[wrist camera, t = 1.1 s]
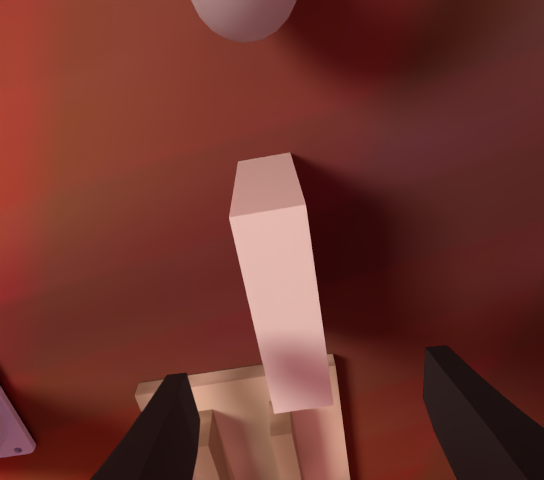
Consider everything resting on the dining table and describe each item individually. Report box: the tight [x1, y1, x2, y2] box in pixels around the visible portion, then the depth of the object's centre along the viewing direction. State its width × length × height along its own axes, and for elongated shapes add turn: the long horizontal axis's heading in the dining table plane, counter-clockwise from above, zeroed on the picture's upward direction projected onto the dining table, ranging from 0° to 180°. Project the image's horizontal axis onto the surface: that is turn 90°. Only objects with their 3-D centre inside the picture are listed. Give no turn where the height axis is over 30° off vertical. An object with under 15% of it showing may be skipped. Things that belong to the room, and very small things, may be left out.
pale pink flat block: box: [229, 153, 334, 414], centre depth 18 cm, size 2×9×7 cm, turn 9°
